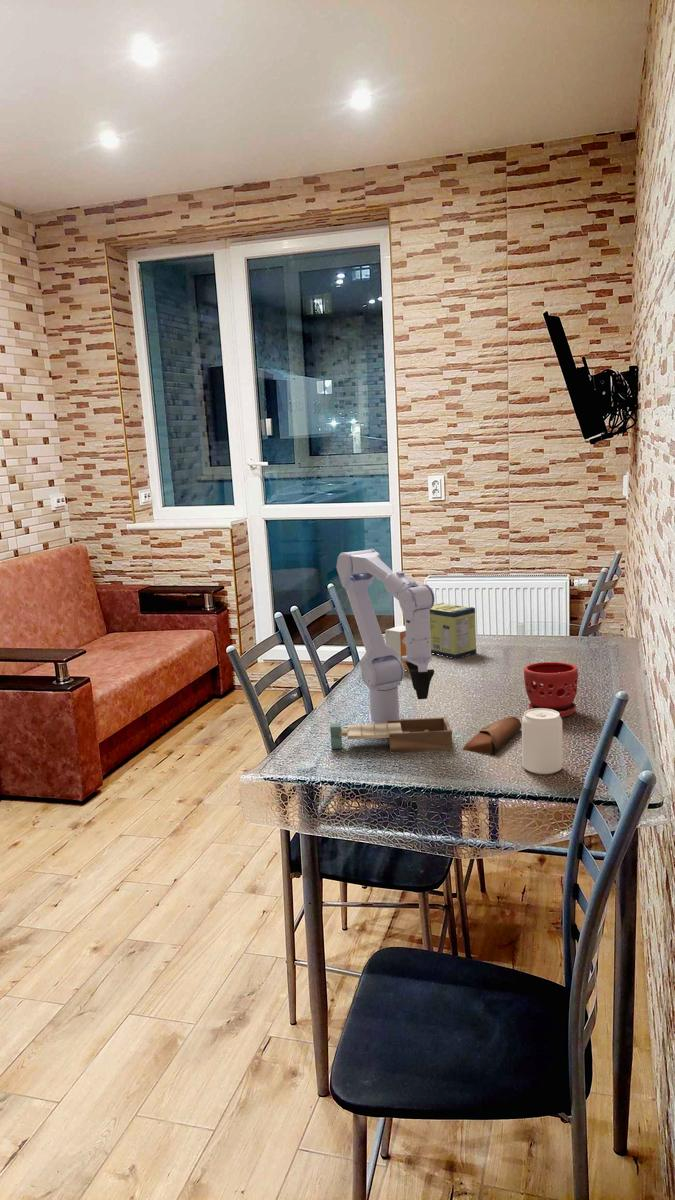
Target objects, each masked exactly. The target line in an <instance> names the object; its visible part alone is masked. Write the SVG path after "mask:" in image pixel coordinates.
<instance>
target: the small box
mask: <svg viewBox="0 0 675 1200" xmlns="http://www.w3.org/2000/svg"><path fill="white" fill-rule="evenodd" d="M384 631H385V644H386V646H387V647H389V648H391V649H393V650H395V651H396V652H397V655H398V657H399V659H400V660H401V662H402V663H403V665H404V669H405V670H408V671H409V668H408V666H407V664H406V663H405V661H403V660H402V656H407V652H406V627H405V625H403V624H402V625H399V626H395V627H394V626H393V627H392V628H388V629H385V630H384Z"/></svg>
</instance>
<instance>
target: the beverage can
mask: <svg viewBox="0 0 675 1200" xmlns="http://www.w3.org/2000/svg"><path fill="white" fill-rule="evenodd" d="M521 755H522V759H521V761H522V762H521V763H522V768H524V770H525V771H528V772H530V773H533V774H538V775H550V774H554V773H556V772H557V773H558V772H559V771H561V770H562V768H563V718H562V717H560V713H559V712H557V711H555V710H552V709H546V708H535V709H530V710H529V709H527V710H525V711H524V713H523V716H522V717H521Z"/></svg>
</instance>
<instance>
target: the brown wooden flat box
mask: <svg viewBox="0 0 675 1200" xmlns="http://www.w3.org/2000/svg"><path fill="white" fill-rule="evenodd" d="M387 723H400V725H401V729H402V733H389V736H390V738H387V740H388V741H387V742H388V746H389V752H390V753H391V752H399V753H418V752H432V751H433V752H438V751H453V731H452V728H451V726H450V722H449V721H448V719H447V717H446V716H445V717H442V716H441V717H423V718H422V717H421V718H420V717H419V718H404V719H403V718H401V719H398V720H387ZM391 754H392V753H391Z"/></svg>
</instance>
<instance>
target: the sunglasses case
mask: <svg viewBox="0 0 675 1200" xmlns="http://www.w3.org/2000/svg"><path fill="white" fill-rule="evenodd" d="M520 730H522V721H521V720H520V719H519V718H518V717H517V716H509V717H504V718H502V719H498V720H497V721H494V722H492V723H490V724H488V725H485V726H484V727H482V728H480V729H479V732H478V733H477V734H476V735H474V736H473V737H472V738H470V739H469V740H468V741H467V742H466V744H465V745H464V746H463V747H462V750H463V751H466V752H467V751H469V752H474V753H479V754H480V753H481V754H486V755H491V756H492V755H493V756H495V755H496V754H497V753H499V752H500V750H501V749H502V748H503V746H505V745H506V743H507V742H509V740H510V739H511V738H512V737H513V736H515V735H516V734H517V733H518V732H519V731H520Z"/></svg>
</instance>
